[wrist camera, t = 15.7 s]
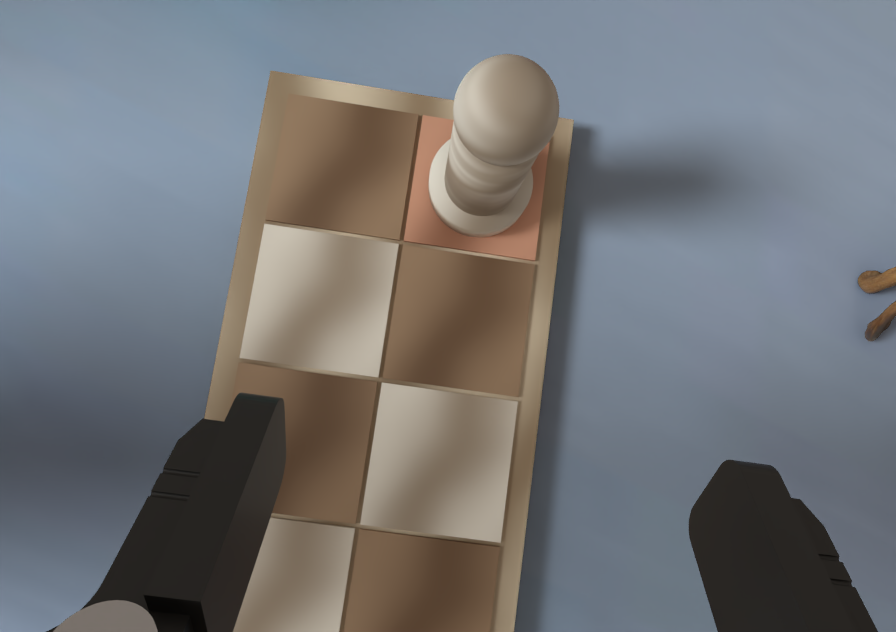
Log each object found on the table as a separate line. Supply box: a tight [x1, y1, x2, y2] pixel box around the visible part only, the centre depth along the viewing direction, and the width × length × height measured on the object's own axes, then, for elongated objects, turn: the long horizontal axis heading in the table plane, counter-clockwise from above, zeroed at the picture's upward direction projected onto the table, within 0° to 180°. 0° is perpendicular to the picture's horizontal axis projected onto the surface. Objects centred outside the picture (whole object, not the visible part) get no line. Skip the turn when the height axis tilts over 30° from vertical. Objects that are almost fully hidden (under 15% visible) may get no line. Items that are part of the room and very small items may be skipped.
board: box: [204, 71, 574, 632], centre depth 28 cm, size 15×28×1 cm, turn 172°
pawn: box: [428, 54, 559, 237], centre depth 23 cm, size 5×5×10 cm
